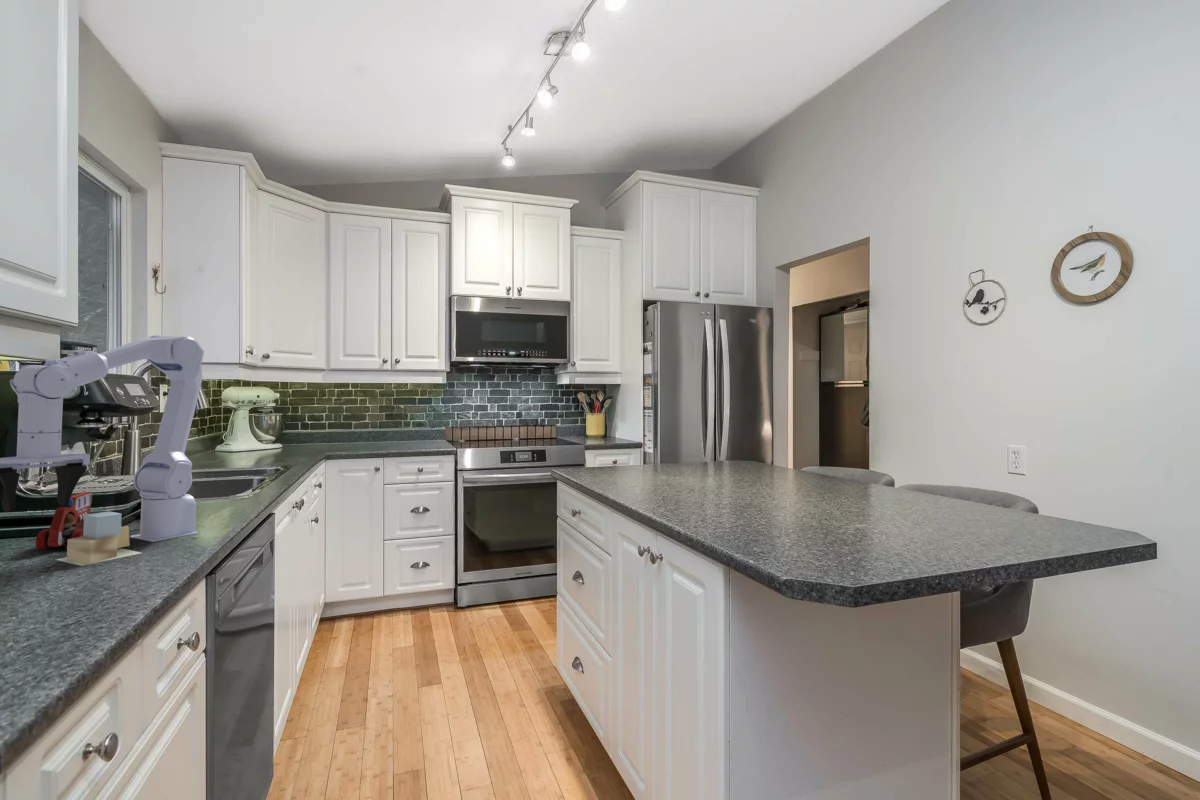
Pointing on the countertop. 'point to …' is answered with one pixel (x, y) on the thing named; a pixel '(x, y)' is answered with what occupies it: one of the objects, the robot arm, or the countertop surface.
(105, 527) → the blue block
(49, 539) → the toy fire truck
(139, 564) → the countertop surface
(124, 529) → the ochre block
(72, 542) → the maple block
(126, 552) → the plate
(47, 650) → the countertop surface
